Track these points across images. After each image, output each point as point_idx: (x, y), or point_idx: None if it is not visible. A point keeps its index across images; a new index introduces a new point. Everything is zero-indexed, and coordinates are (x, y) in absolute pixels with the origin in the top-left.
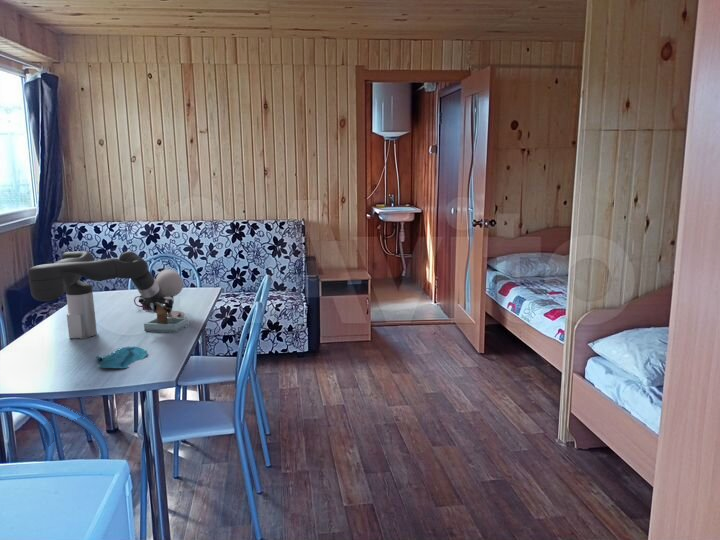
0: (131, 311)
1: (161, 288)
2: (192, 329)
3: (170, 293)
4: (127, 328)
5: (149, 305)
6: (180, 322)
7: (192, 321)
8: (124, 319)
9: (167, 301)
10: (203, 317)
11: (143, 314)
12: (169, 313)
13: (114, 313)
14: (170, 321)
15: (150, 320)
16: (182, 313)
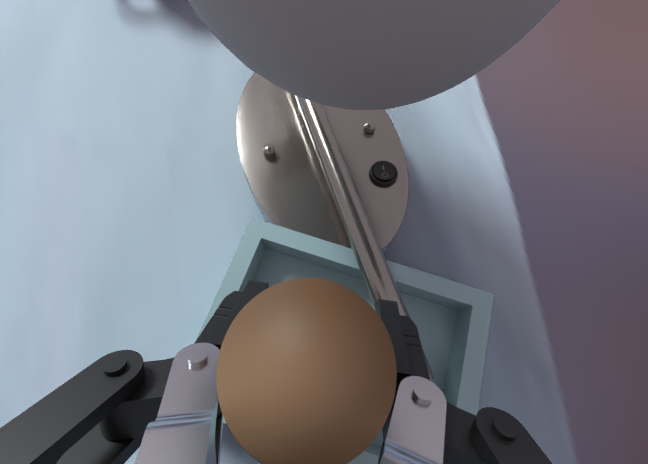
0: (89, 4)
1: (250, 29)
2: (532, 407)
3: (398, 106)
4: (75, 313)
5: (145, 429)
6: (475, 413)
7: (458, 210)
8: (56, 123)
9: (442, 458)
10: (494, 140)
11: (151, 53)
12: (320, 163)
13: (7, 23)
14: (349, 272)
15: (211, 309)
16: (382, 117)
